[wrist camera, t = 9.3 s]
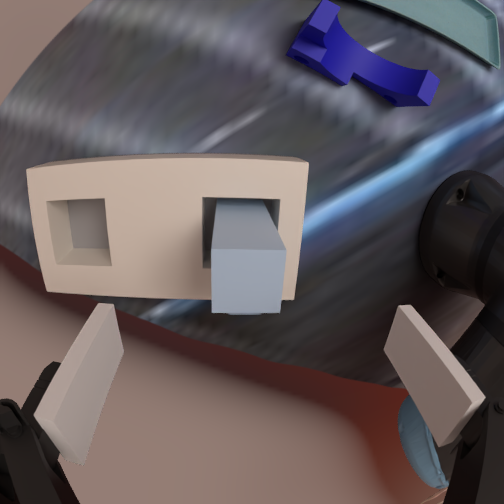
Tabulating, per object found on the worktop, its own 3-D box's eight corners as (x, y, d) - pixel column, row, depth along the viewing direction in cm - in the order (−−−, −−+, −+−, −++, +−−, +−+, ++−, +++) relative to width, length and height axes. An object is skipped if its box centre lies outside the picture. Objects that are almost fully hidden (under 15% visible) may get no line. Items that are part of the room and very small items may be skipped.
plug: (262, 199, 27) (286, 250, 16) (258, 248, 29) (278, 323, 18) (217, 198, 27) (211, 248, 16) (216, 247, 29) (212, 323, 18)
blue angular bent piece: (285, 55, 23) (300, 38, 18) (305, 20, 22) (323, -2, 16) (389, 118, 26) (423, 119, 21) (405, 84, 25) (440, 80, 19)
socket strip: (294, 156, 27) (308, 162, 23) (284, 274, 32) (293, 299, 27) (53, 161, 25) (26, 169, 20) (66, 269, 29) (46, 291, 25)
